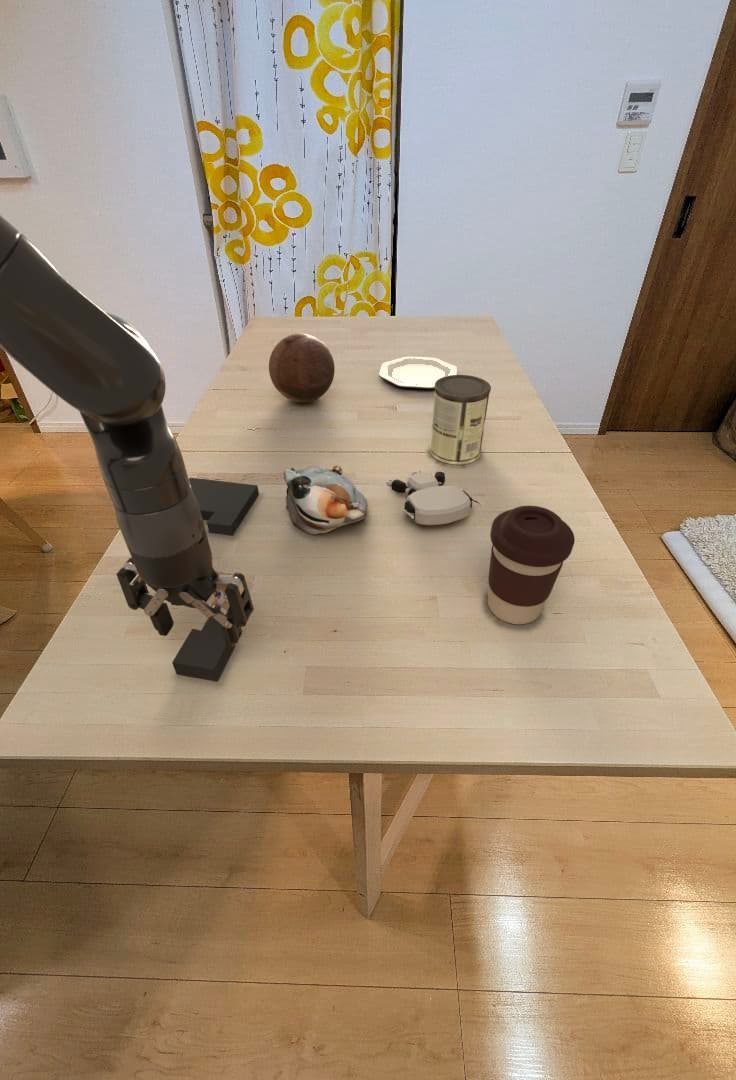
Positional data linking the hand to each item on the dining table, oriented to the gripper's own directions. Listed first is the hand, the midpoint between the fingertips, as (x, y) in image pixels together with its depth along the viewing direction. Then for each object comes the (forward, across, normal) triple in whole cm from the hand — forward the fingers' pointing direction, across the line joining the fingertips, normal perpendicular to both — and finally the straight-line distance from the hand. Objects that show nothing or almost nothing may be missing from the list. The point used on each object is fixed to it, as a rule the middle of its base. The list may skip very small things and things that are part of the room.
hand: (200, 635), depth 62 cm
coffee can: (+6, +26, +58) cm, 64 cm away
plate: (+6, +14, +95) cm, 96 cm away
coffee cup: (+6, +38, +17) cm, 42 cm away
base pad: (+5, -13, +30) cm, 33 cm away
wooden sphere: (+5, -11, +76) cm, 77 cm away
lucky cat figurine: (+5, +8, +31) cm, 32 cm away
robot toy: (+5, +24, +38) cm, 45 cm away
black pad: (+5, 0, +2) cm, 5 cm away
